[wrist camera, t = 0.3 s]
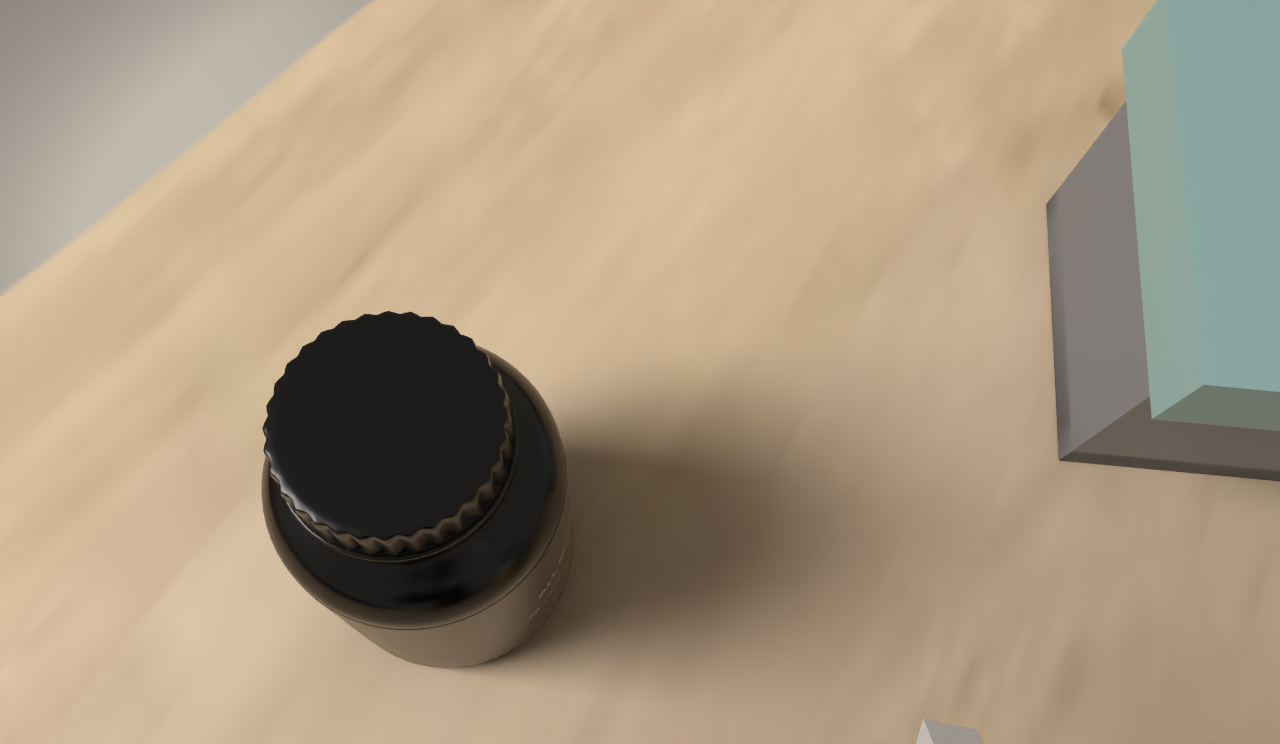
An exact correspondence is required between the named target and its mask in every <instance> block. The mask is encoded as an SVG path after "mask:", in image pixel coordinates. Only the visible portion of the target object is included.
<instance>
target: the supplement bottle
mask: <svg viewBox="0 0 1280 744" xmlns="http://www.w3.org/2000/svg"><path fill="white" fill-rule="evenodd" d="M267 413H268V417H267V419H266V421H265V423H264V426H263V432H264V435H265V437H266V442H265V445H264V454H265V461H264V466H263V474H262V503H263V512H264V517H265V522H266V526H267V529H268V532H269V535H270V538H271V541H272V543H273V545H274V547H275V549H276V552H277V553H278V555H279V557H280V558H281V560H282V562H283V564H284V565H285V566H286V568H287V569H288V570H289V572H290V573H291V574H292V576H293V577H294V578H295V579H296V581H297V582H298V583H299V584H300V585H301V586H302V587H303V588H304V589H305V590H306V591H307V592H308V593H309V594H310V595H312V596H313V597H314V598H315V599H316V600H317V601H319V602H320V603H321V604H322V605H324V606H325V607H326V608H328V609H329V610H330V611H332V612H333V613H334V614H336V615H337V616H338V617H340V618H341V619H342V620H344V621H345V622H346V623H348V624H349V625H350V626H352V627H353V628H354V629H356V630H357V631H358V632H360V633H361V634H362V635H364V636H365V637H366V638H368V639H369V640H370V641H372V642H373V643H375V644H376V645H378V646H379V647H380V648H382V649H384V650H385V651H387V652H389V653H391V654H393V655H394V656H396V657H399V658H401V659H403V660H406V661H408V662H412V663H415V664H418V665H423V666H429V667H436V668H460V667H468V666H473V665H477V664H481V663H484V662H487V661H490V660H493V659H495V658H497V657H500V656H502V655H504V654H506V653H507V652H509V651H511V650H513V649H514V648H516V647H517V646H519V645H520V644H521V643H523V642H524V641H525V640H526V639H528V638H529V637H530V636H531V635H532V634H533V633H534V632H535V631H536V630H537V629H538V628H539V627H540V626H541V625H542V624H543V622H544V621H545V620H546V619H547V617H548V616H549V614H550V613H551V611H552V610H553V608H554V607H555V605H556V603H557V601H558V599H559V597H560V595H561V592H562V590H563V588H564V585H565V582H566V578H567V575H568V571H569V566H570V559H571V522H570V510H569V497H568V485H567V473H566V462H565V455H564V450H563V445H562V441H561V438H560V435H559V432H558V428H557V425H556V423H555V421H554V418H553V416H552V414H551V412H550V410H549V408H548V406H547V404H546V403H545V401H544V399H543V398H542V397H541V395H540V394H539V392H538V391H537V390H536V388H535V387H534V386H533V385H532V384H531V383H530V381H529V380H528V379H527V378H526V377H525V376H524V375H522V374H521V373H520V372H519V371H518V370H517V369H516V368H515V367H513V366H512V365H511V364H509V363H508V362H507V361H505V360H504V359H502V358H501V357H499V356H497V355H496V354H494V353H492V352H490V351H488V350H486V349H484V348H482V347H479V346H477V345H475V343H474V341H473V339H471V338H469V337H467V336H464V335H461V334H460V333H459V332H458V330H457V329H456V328H455V327H454V326H451V325H445V324H441V323H440V322H439V321H438V320H437V319H435V318H434V317H420V316H418V315H417V314H414V313H412V312H407V313H403V314H397V313H394V312H390V311H386V312H383V313H381V314H379V315H372V314H364V315H362V316H360V317H359V318H358V319H356V320H348V321H342V322H341V323H339V324H338V325H337V326H336V327H335V328H334V329H331V330H327V331H323V332H321V333H320V334H319V335H318V337H317V338H316V340H315V341H313V342H311V343H309V344H307V345H305V346H303V347H302V349H301V350H300V353H299V355H298V356H297V357H296V358H295V359H293V360H292V361H290V362H289V363H288V364H287V365H286V368H285V373H284V375H283V376H282V377H281V378H280V379H279V380H278V381H277V382H276V383H275V386H274V395H273V397H272V398H271V399H270V401H269V402H268V404H267Z"/></svg>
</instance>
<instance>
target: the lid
mask: <svg viewBox="0 0 1280 744" xmlns="http://www.w3.org/2000/svg"><path fill="white" fill-rule="evenodd" d="M1122 55H1123V68H1124V80H1125V93H1126V105H1127V118H1128V130H1129V142H1130V155H1131V167H1132V180H1133V192H1134V205H1135V217H1136V230H1137V242H1138V254H1139V267H1140V279H1141V292H1142V304H1143V317H1144V329H1145V342H1146V354H1147V366H1148V379H1149V391H1150V404H1151V416H1152V419H1155V420H1166V421H1177V422H1187V423H1198V424H1208V425H1219V426H1230V427H1240V428H1251V429H1261V430H1272V431H1280V0H1157V1H1156V2H1155V3H1154V5H1153V6H1152V8H1151V9H1150V10H1149V12H1148V13H1147V15H1146V16H1145V17H1144V19H1143V20H1142V22H1141V23H1140V24H1139V26H1138V27H1137V29H1136V30H1135V31H1134V33H1133V34H1132V36H1131V37H1130V38H1129V40H1128V41H1127V43H1126V44H1125V45H1124V47H1123V48H1122Z"/></svg>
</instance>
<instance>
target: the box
mask: <svg viewBox="0 0 1280 744" xmlns="http://www.w3.org/2000/svg"><path fill="white" fill-rule="evenodd" d="M1046 205H1047V225H1048V246H1049V266H1050V287H1051V308H1052V328H1053V349H1054V369H1055V390H1056V411H1057V431H1058V452H1059V460H1062V461H1072V462H1083V463H1093V464H1104V465H1115V466H1125V467H1136V468H1147V469H1157V470H1168V471H1178V472H1189V473H1200V474H1210V475H1221V476H1232V477H1242V478H1253V479H1263V480H1274V481H1280V431H1272V430H1261V429H1251V428H1240V427H1230V426H1219V425H1208V424H1198V423H1187V422H1177V421H1166V420H1155V419H1152V416H1151V404H1150V391H1149V379H1148V366H1147V354H1146V342H1145V329H1144V317H1143V304H1142V292H1141V279H1140V267H1139V254H1138V242H1137V230H1136V217H1135V205H1134V192H1133V180H1132V167H1131V155H1130V142H1129V130H1128V118H1127V105H1126V102H1125V103H1124V105H1123V106H1122V107H1121V109H1120V110H1119V111H1118V112H1117V114H1116V115H1115V116H1114V118H1113V119H1112V120H1111V121H1110V123H1109V124H1108V125H1107V127H1106V128H1105V129H1104V130H1103V132H1102V133H1101V134H1100V136H1099V137H1098V138H1097V140H1096V141H1095V142H1094V143H1093V145H1092V146H1091V147H1090V149H1089V150H1088V151H1087V152H1086V154H1085V155H1084V156H1083V158H1082V159H1081V160H1080V161H1079V163H1078V164H1077V165H1076V167H1075V168H1074V169H1073V171H1072V172H1071V173H1070V174H1069V176H1068V177H1067V178H1066V180H1065V181H1064V182H1063V183H1062V185H1061V186H1060V187H1059V189H1058V190H1057V191H1056V192H1055V194H1054V195H1053V196H1052V198H1051V199H1050V200H1049V202H1048V203H1047V204H1046Z"/></svg>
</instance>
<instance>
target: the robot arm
mask: <svg viewBox="0 0 1280 744" xmlns="http://www.w3.org/2000/svg"><path fill="white" fill-rule="evenodd" d="M916 744H983V742H982V740H981V738H980V735H979V733H978V731H977V730H974V729H969V728H965V727H960V726H955V725H950V724H945V723H941V722H936V721H931V720H926V719H923V722H922V725H921V728H920V732H919V735H918V738H917V742H916Z"/></svg>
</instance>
